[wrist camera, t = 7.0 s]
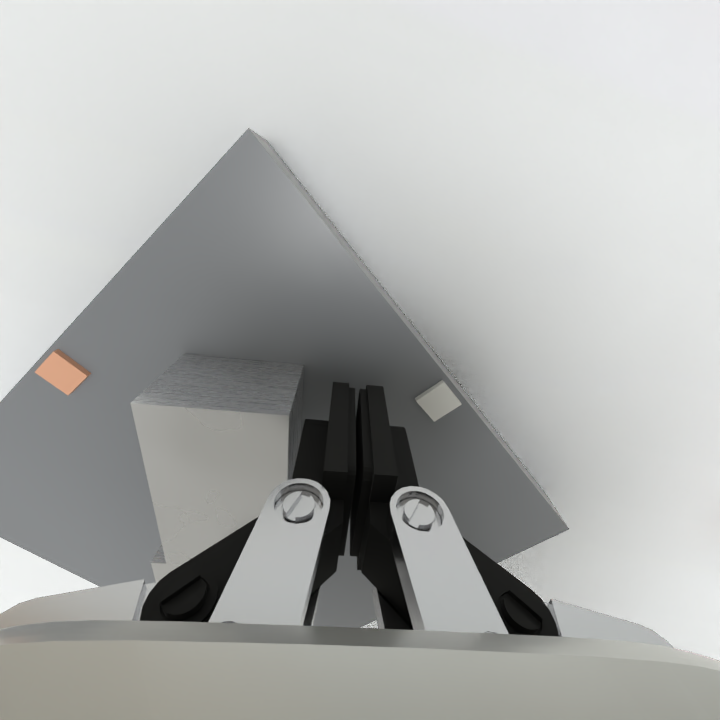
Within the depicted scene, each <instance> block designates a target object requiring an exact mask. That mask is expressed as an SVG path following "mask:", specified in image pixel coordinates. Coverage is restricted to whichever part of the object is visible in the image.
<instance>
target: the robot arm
mask: <svg viewBox="0 0 720 720" xmlns="http://www.w3.org/2000/svg"><path fill="white" fill-rule="evenodd" d="M349 520H350V556H356V557H357V570H361V573H362V574H363V575H364V576H365V577H366V578H367V579H368V580H369V581H370V582H371V583H372V597H373V602H374V607H375V613H376V618H377V623H378V629H376V628H350V627H325V626H313V623H314V619H315V614H316V610H317V605H318V601H319V596H320V592H321V585H322V584H323V583H324V582H325V581H326V580H328V579H329V578H330V577H331V576H332V575H333V574H334V573H335V572H336V571H337V564H338V556H344V553H345V546H346V540H347V533H348V526H349ZM0 720H720V661H719V660H716V659H713V658H710V657H706V656H703V655H700V654H696V653H693V652H690V651H685V650H681V649H676V648H673V647H672V646H671V645H670V644H669V642H668V641H666V640H665V639H664V638H662V637H661V636H660V635H658V634H657V633H655V632H654V631H653V630H651V629H648V628H646V627H644V626H642V625H639V624H636V623H633V622H629V621H626V620H622V619H619V618H616V617H612V616H609V615H605V614H602V613H598V612H595V611H591V610H588V609H585V608H581V607H578V606H574V605H571V604H567V603H564V602H560V601H557V600H554V599H551V600H550V602H549V603H546V602H543V601H542V599H541V598H540V597H539V596H537V595H536V594H535V593H534V592H533V591H532V590H531V589H530V588H528V587H527V586H526V585H525V584H523V583H522V582H521V581H519V580H518V579H517V578H515V577H514V576H513V575H511V574H510V573H509V572H508V571H506V570H505V569H504V568H502V567H501V566H500V565H498V564H497V563H496V562H495V561H493V560H492V559H491V558H489V557H488V556H487V555H485V554H484V553H483V552H482V551H480V550H479V549H478V548H476V547H475V546H474V545H472V544H471V543H470V542H468V541H467V540H466V539H465V538H463V537H462V536H461V534H460V532H459V529H458V527H457V525H456V523H455V521H454V519H453V517H452V515H451V513H450V511H449V509H448V507H447V506H446V504H445V502H444V501H443V500H442V499H441V498H440V497H439V496H438V495H437V494H435V493H433V492H432V491H430V490H428V489H425V488H422V487H419V484H418V480H417V476H416V471H415V467H414V463H413V459H412V454H411V450H410V446H409V441H408V437H407V433H406V429H405V428H404V427H399V426H390V424H389V418H388V412H387V406H386V400H385V394H384V388H383V386H375V385H366V389H360V391H359V398H358V405H357V412H356V408H355V388H349V383H342V382H333V386H332V395H331V404H330V414H329V421H327V420H315V419H305V421H304V426H303V430H302V435H301V439H300V444H299V449H298V453H297V458H296V462H295V467H294V471H293V476H292V479H291V480H287V481H285V482H283V483H281V484H279V485H278V486H277V487H276V488H274V489H273V491H272V492H271V494H270V495H269V497H268V499H267V501H266V503H265V505H264V507H263V509H262V511H261V513H260V515H259V517H257V518H255V519H254V520H252V521H251V522H249V523H247V524H246V525H244V526H243V527H241V528H239V529H238V530H236V531H235V532H233V533H231V534H230V535H228V536H227V537H225V538H224V539H222V540H220V541H219V542H217V543H216V544H214V545H212V546H211V547H209V548H208V549H206V550H204V551H203V552H201V553H200V554H198V555H196V556H195V557H193V558H192V559H190V560H188V561H187V562H185V563H184V564H182V565H181V566H179V567H177V568H176V569H174V570H173V571H171V572H170V573H168V574H167V575H166V576H165V577H163V578H162V579H161V580H160V581H159V582H156V583H150V584H145V580H144V579H143V580H137V581H131V582H125V583H120V584H114V585H108V586H103V587H97V588H91V589H85V590H80V591H74V592H68V593H63V594H57V595H51V596H45V597H40V598H35V599H32V600H29V601H25V602H22V603H19V604H17V605H15V606H14V607H12V608H10V609H8V610H7V611H5V612H3V613H1V614H0Z"/></svg>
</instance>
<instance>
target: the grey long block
mask: <svg viewBox="0 0 720 720" xmlns="http://www.w3.org/2000/svg"><path fill="white" fill-rule="evenodd" d="M303 371H304V364H293V363H282V362H271V361H260V360H249V359H238V358H227V357H216V356H205V355H194V354H183V355H182V356H181V357H180V358H179V359H178V360H177V361H176V362H174V363H173V364H172V365H171V366H170V367H169V368H168V369H167V370H166V371H165V372H164V373H163V374H161V375H160V376H159V377H158V378H157V379H156V380H155V381H154V382H153V383H152V384H151V385H150V386H148V387H147V388H146V389H145V390H144V391H143V392H142V393H141V394H140V395H139V396H138V397H136V398H135V399H134V400H133V401H132V402H131V403H130V404H131V408H132V412H133V417H134V421H135V426H136V430H137V435H138V439H139V444H140V448H141V453H142V457H143V462H144V466H145V471H146V475H147V480H148V484H149V489H150V493H151V498H152V502H153V507H154V511H155V516H156V520H157V525H158V529H159V534H160V538H161V543H162V544H161V545H160V547H159V549H158V551H157V553H156V555H155V556H154V558H153V560H152V562H151V565H152V569H153V573H154V577H155V581H156V582H159V581H160V580H161V579H162V578H163V577H165V576H166V575H167V574H168V573H170V572H171V571H173V570H174V569H176V568H177V567H179V566H181V565H182V564H184V563H185V562H187V561H188V560H190V559H192V558H193V557H195V556H196V555H198V554H200V553H201V552H203V551H204V550H206V549H208V548H209V547H211V546H212V545H214V544H216V543H217V542H219V541H220V540H222V539H224V538H225V537H227V536H228V535H230V534H231V533H233V532H235V531H236V530H238V529H239V528H241V527H243V526H244V525H246V524H247V523H249V522H251V521H252V520H254V519H255V518H257V517H259V515H260V513H261V511H262V509H263V507H264V505H265V503H266V501H267V499H268V497H269V495H270V494H271V492H272V491H273V489H274V488H276V487H277V486H278V485H279V484H281V483H283V482H285V481H287V480H291V479H292V476H293V471H294V467H295V462H296V458H297V453H298V449H299V444H300V437H301V415H302V393H303Z"/></svg>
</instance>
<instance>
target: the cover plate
mask: <svg viewBox="0 0 720 720" xmlns="http://www.w3.org/2000/svg"><path fill="white" fill-rule="evenodd" d="M183 354H194V355H205V356H216V357H227V358H238V359H249V360H260V361H271V362H282V363H293V364H304V371H303V393H302V415H301V435H302V430H303V426H304V421H305V419H315V420H327V421H329V414H330V404H331V395H332V386H333V382H342V383H349V388H355V408H356V412H357V405H358V398H359V391H360V389H366V385H375V386H383V388H384V394H385V400H386V406H387V412H388V418H389V424H390V426H399V427H404V428H405V429H406V433H407V437H408V441H409V446H410V450H411V454H412V459H413V463H414V467H415V471H416V476H417V480H418V484H419V487H422V488H425V489H428V490H430V491H432V492H433V493H435V494H437V495H438V496H439V497H440V498H441V499H442V500H443V501H444V502H445V504H446V506H447V507H448V509H449V511H450V513H451V515H452V517H453V519H454V521H455V523H456V525H457V527H458V529H459V532H460V534H461V536H462V537H463V538H465V539H466V540H467V541H468V542H470V543H471V544H472V545H474V546H475V547H476V548H478V549H479V550H480V551H482V552H483V553H484V554H485V555H487V556H488V557H489V558H491V559H492V560H493V561H495V562H496V563H498V562H500V561H502V560H505V559H507V558H509V557H511V556H513V555H515V554H517V553H519V552H522V551H524V550H526V549H528V548H530V547H532V546H534V545H536V544H539V543H541V542H543V541H545V540H547V539H549V538H551V537H554V536H556V535H558V534H560V533H562V532H564V531H566V530H568V529H569V528H568V527H567V525H566V524H565V522H564V521H563V519H562V518H561V516H560V515H559V513H558V511H557V510H556V508H555V507H554V505H553V504H552V502H551V501H550V499H549V498H548V496H547V495H546V494H545V492H544V491H543V490H542V488H541V487H540V486H539V485H538V483H537V482H536V481H535V480H534V478H533V477H532V476H531V475H530V473H529V472H528V471H527V469H526V468H525V467H524V466H523V464H522V463H521V462H520V461H519V459H518V458H517V457H516V456H515V454H514V453H513V452H512V450H511V449H510V448H509V447H508V445H507V444H506V443H505V442H504V440H503V439H502V438H501V437H500V435H499V434H498V433H497V431H496V430H495V429H494V428H493V426H492V425H491V424H490V423H489V421H488V420H487V419H486V418H485V416H484V415H483V414H482V412H481V411H480V410H479V409H478V407H477V406H476V405H475V404H474V402H473V401H472V400H471V399H470V397H469V396H468V395H467V393H466V392H465V391H464V390H463V388H462V387H461V386H460V385H459V383H458V382H457V381H456V380H455V378H454V377H453V376H452V374H451V373H450V372H449V371H448V369H447V368H446V367H445V366H444V364H443V363H442V362H441V361H440V359H439V358H438V357H437V356H436V354H435V353H434V352H433V350H432V349H431V348H430V347H429V345H428V344H427V343H426V342H425V340H424V339H423V338H422V337H421V335H420V334H419V333H418V331H417V330H416V329H415V328H414V326H413V325H412V324H411V323H410V321H409V320H408V319H407V318H406V316H405V315H404V314H403V312H402V311H401V310H400V309H399V307H398V306H397V305H396V304H395V302H394V301H393V300H392V299H391V297H390V296H389V295H388V293H387V292H386V291H385V290H384V288H383V287H382V286H381V285H380V283H379V282H378V281H377V280H376V278H375V277H374V276H373V274H372V273H371V272H370V271H369V269H368V268H367V267H366V266H365V264H364V263H363V262H362V261H361V259H360V258H359V257H358V255H357V254H356V253H355V252H354V250H353V249H352V248H351V247H350V245H349V244H348V243H347V242H346V240H345V239H344V238H343V236H342V235H341V234H340V233H339V231H338V230H337V229H336V228H335V226H334V225H333V224H332V223H331V221H330V220H329V219H328V217H327V216H326V215H325V214H324V212H323V211H322V210H321V209H320V207H319V206H318V205H317V204H316V202H315V201H314V200H313V198H312V197H311V196H310V195H309V193H308V192H307V191H306V190H305V188H304V187H303V186H302V185H301V183H300V182H299V181H298V179H297V178H296V177H295V176H294V174H293V173H292V172H291V171H290V169H289V168H288V167H287V166H286V164H285V163H284V162H283V160H282V159H281V158H280V157H279V155H278V154H277V153H276V152H275V150H274V149H273V148H272V147H271V145H270V144H269V143H268V141H267V140H265V139H264V138H262V137H261V136H259V135H258V134H257V133H255V132H254V131H252V130H251V129H249V128H248V129H247V131H246V132H245V133H244V134H243V135H242V136H241V137H240V138H239V139H238V140H237V142H236V143H235V144H234V145H233V146H232V147H231V148H230V149H229V150H228V152H227V153H226V154H225V155H224V156H223V157H222V158H221V159H220V160H219V161H218V163H217V164H216V165H215V166H214V167H213V168H212V169H211V170H210V171H209V172H208V174H207V175H206V176H205V177H204V178H203V179H202V180H201V181H200V182H199V184H198V185H197V186H196V187H195V188H194V189H193V190H192V191H191V192H190V193H189V195H188V196H187V197H186V198H185V199H184V200H183V201H182V202H181V203H180V205H179V206H178V207H177V208H176V209H175V210H174V211H173V212H172V213H171V214H170V216H169V217H168V218H167V219H166V220H165V221H164V222H163V223H162V224H161V225H160V227H159V228H158V229H157V230H156V231H155V232H154V233H153V234H152V235H151V237H150V238H149V239H148V240H147V241H146V242H145V243H144V244H143V245H142V246H141V248H140V249H139V250H138V251H137V252H136V253H135V254H134V255H133V256H132V258H131V259H130V260H129V261H128V262H127V263H126V264H125V265H124V266H123V267H122V269H121V270H120V271H119V272H118V273H117V274H116V275H115V276H114V277H113V278H112V280H111V281H110V282H109V283H108V284H107V285H106V286H105V287H104V288H103V290H102V291H101V292H100V293H99V294H98V295H97V296H96V297H95V298H94V299H93V301H92V302H91V303H90V304H89V305H88V306H87V307H86V308H85V309H84V310H83V312H82V313H81V314H80V315H79V316H78V317H77V318H76V319H75V320H74V322H73V323H72V324H71V325H70V326H69V327H68V328H67V329H66V330H65V331H64V333H63V334H62V335H61V336H60V337H59V338H58V339H57V340H56V341H55V343H54V344H53V345H52V346H51V347H50V348H49V349H48V350H47V351H46V352H45V354H44V355H43V356H42V357H41V358H40V359H39V360H38V361H37V362H36V363H35V365H34V366H33V367H32V368H31V369H30V370H29V371H28V372H27V373H26V375H25V376H24V377H23V378H22V379H21V380H20V381H19V382H18V383H17V384H16V386H15V387H14V388H13V389H12V390H11V391H10V392H9V393H8V394H7V395H6V397H5V398H4V399H3V400H2V401H1V402H0V537H1V538H3V539H5V540H7V541H9V542H11V543H13V544H15V545H17V546H19V547H21V548H23V549H25V550H27V551H29V552H31V553H33V554H35V555H37V556H39V557H41V558H43V559H45V560H47V561H49V562H51V563H53V564H55V565H57V566H59V567H61V568H63V569H65V570H67V571H69V572H71V573H73V574H75V575H78V576H80V577H82V578H84V579H86V580H88V581H90V582H92V583H94V584H96V585H98V586H100V587H103V586H108V585H114V584H120V583H125V582H131V581H137V580H143V579H144V580H145V584H150V583H156V581H155V577H154V573H153V569H152V565H151V562H152V560H153V558H154V556H155V555H156V553H157V551H158V549H159V547H160V545H161V544H162V543H161V538H160V534H159V529H158V525H157V520H156V516H155V511H154V507H153V502H152V498H151V493H150V489H149V484H148V480H147V475H146V471H145V466H144V462H143V457H142V453H141V448H140V444H139V439H138V435H137V430H136V426H135V421H134V417H133V412H132V408H131V404H130V403H131V402H132V401H133V400H134V399H135V398H136V397H138V396H139V395H140V394H141V393H142V392H143V391H144V390H145V389H146V388H147V387H148V386H150V385H151V384H152V383H153V382H154V381H155V380H156V379H157V378H158V377H159V376H160V375H161V374H163V373H164V372H165V371H166V370H167V369H168V368H169V367H170V366H171V365H172V364H173V363H174V362H176V361H177V360H178V359H179V358H180V357H181V356H182V355H183ZM300 439H301V437H300ZM375 620H377V618H376V613H375V607H374V602H373V597H372V583H371V582H370V581H369V580H368V579H367V578H366V577H365V576H364V575H363V574H362V573H361V570H357V557H356V556H350V520H349V526H348V533H347V540H346V546H345V553H344V556H338V564H337V571H336V572H335V573H334V574H333V575H332V576H331V577H330V578H329V579H328V580H326V581H325V582H324V583H323V584H322V585H321V592H320V596H319V601H318V605H317V610H316V614H315V619H314V623H313V626H325V627H350V628H360V627H362V626H364V625H366V624H368V623H370V622H373V621H375Z"/></svg>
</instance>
